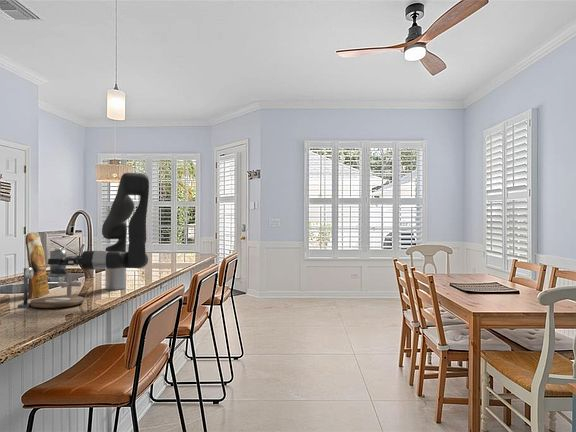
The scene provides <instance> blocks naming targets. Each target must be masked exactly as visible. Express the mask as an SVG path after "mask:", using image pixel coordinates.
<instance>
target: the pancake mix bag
mask: <svg viewBox="0 0 576 432" xmlns="http://www.w3.org/2000/svg"><path fill="white" fill-rule="evenodd" d="M41 240H42V239H41V236H40V232H28V233H27V234H26V235H25V246H26V247H25V248H26V252H27V262H28V268H33V277H32V279H28V299H38V298H42V297H44V296H46V295H48V294H49V293H50V286H49V281H48V274H47V267H46V258H45V252H44V248H43V243H42V241H41ZM43 295H44V296H43Z"/></svg>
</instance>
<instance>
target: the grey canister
mask: <svg viewBox="0 0 576 432" xmlns="http://www.w3.org/2000/svg"><path fill="white" fill-rule="evenodd" d="M66 256H67V250H66V249H62V247H54V250H50V251H49V259H59V258H65V257H66ZM62 263H64V260H62ZM68 273H69V271H67V266H65V265H61V266H59V265H58V264H53V265H49V272H47V278H64V277H67V276H68Z"/></svg>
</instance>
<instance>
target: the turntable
mask: <svg viewBox="0 0 576 432" xmlns="http://www.w3.org/2000/svg"><path fill="white" fill-rule="evenodd" d="M84 299H85V298H84V297H83V296H80V295H71V296H67V295H52V296H45V297H44V296H43V297H38V298H33V299H32V300H30V301H29V303H30V306H31V308H38V309H58V308H65V307H66V308H67V307H72V306H76V305H80V304H82V303H84Z"/></svg>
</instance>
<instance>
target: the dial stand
mask: <svg viewBox="0 0 576 432" xmlns="http://www.w3.org/2000/svg"><path fill="white" fill-rule="evenodd" d="M32 277H33V268H29V267H24V268H23V302H21V303H19V304H17V309H23V308H24V309H25V308H28V309H29V308H32V306H30V302H28V301H29V300H28V299H29V298H28V282H29V279H32Z"/></svg>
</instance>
